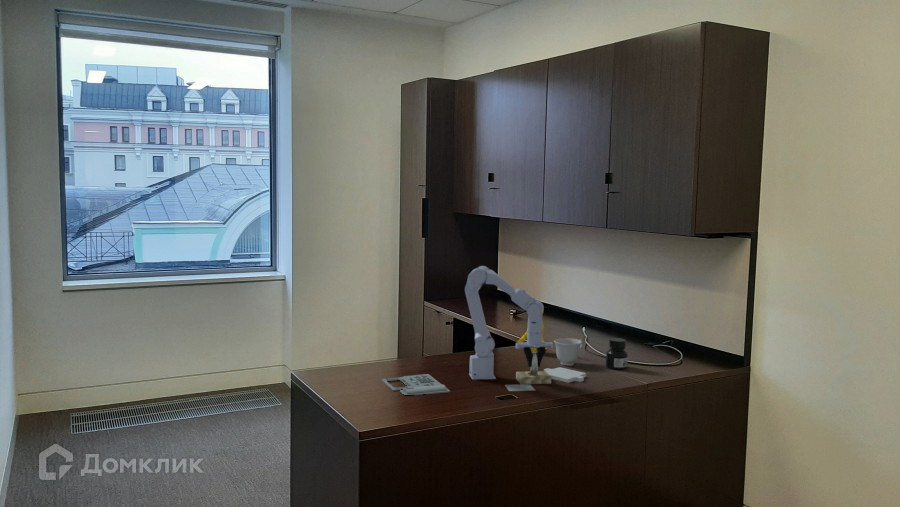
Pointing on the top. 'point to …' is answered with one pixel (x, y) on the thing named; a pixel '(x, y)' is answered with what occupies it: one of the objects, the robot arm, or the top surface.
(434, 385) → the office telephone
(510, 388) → the mat
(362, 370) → the top surface
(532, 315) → the robot arm
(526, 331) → the figure statuette
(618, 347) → the ink bottle
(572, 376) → the mounting plate
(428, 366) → the top surface
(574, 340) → the teacup
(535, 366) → the peg
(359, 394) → the top surface
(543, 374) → the hole block
